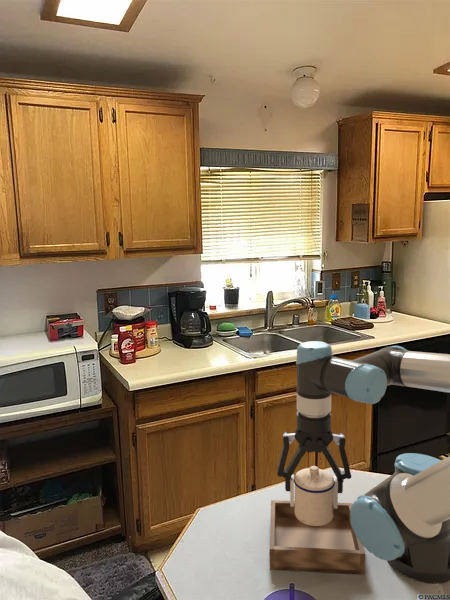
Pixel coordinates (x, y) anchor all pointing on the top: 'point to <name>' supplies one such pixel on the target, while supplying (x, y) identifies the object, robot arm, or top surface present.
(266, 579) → the top surface
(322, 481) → the teacup with lid
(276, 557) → the walnut box
